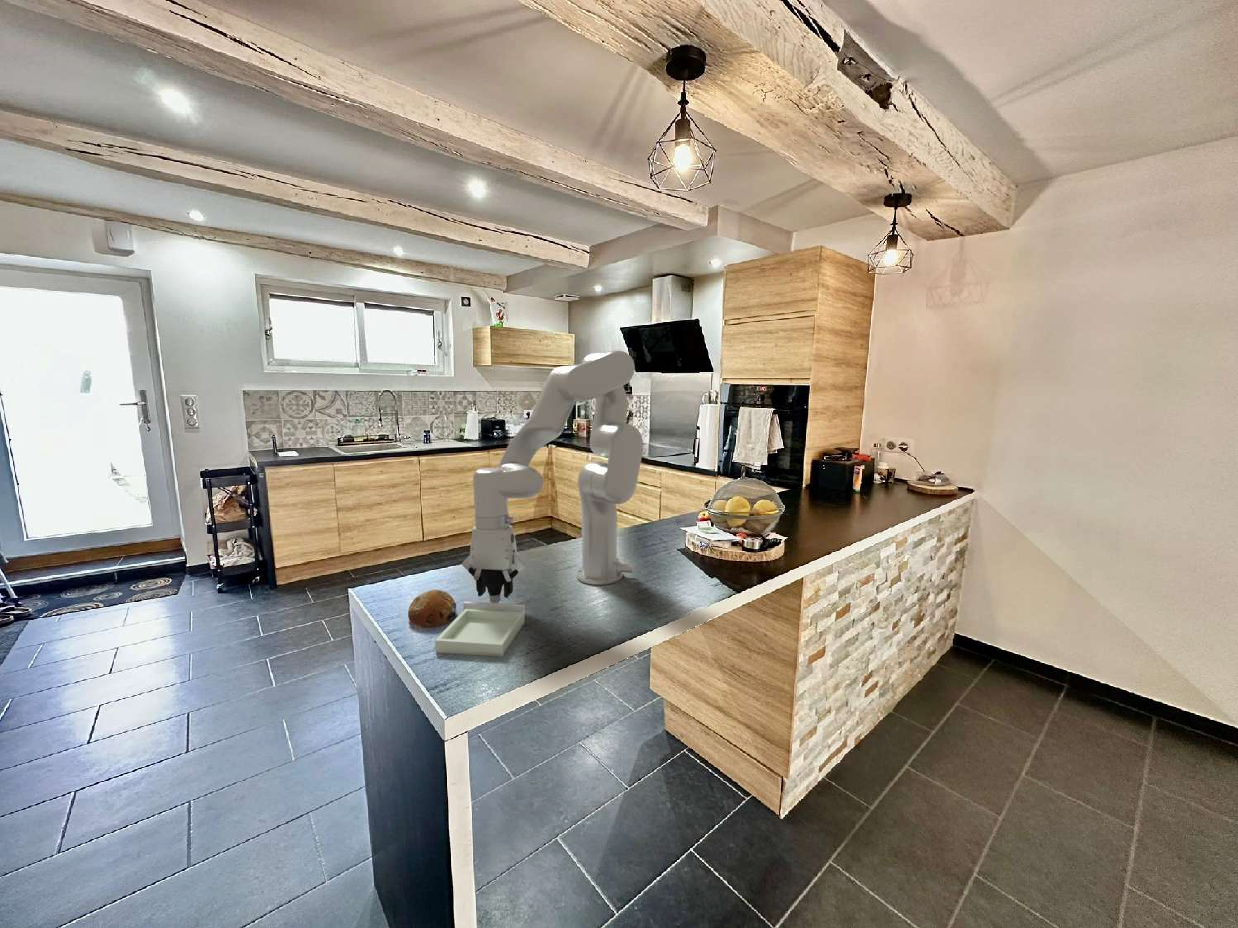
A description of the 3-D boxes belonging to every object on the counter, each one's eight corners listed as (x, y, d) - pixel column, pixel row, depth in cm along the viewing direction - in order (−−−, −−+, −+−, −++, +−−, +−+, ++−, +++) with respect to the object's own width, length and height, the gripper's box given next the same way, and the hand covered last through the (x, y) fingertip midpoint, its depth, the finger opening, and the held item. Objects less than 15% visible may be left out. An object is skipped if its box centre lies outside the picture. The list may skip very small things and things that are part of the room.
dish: (524, 622, 106) (524, 612, 106) (502, 656, 93) (502, 644, 93) (465, 619, 108) (465, 608, 108) (435, 652, 95) (434, 640, 94)
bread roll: (447, 620, 115) (437, 587, 116) (468, 614, 109) (458, 580, 110) (406, 636, 108) (397, 601, 109) (427, 631, 101) (417, 594, 102)
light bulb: (488, 611, 111) (486, 570, 110) (479, 602, 116) (477, 563, 115) (511, 605, 115) (510, 565, 113) (502, 596, 120) (500, 558, 118)
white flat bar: (524, 617, 109) (524, 604, 108) (523, 618, 108) (523, 606, 108) (465, 613, 111) (464, 601, 110) (463, 615, 110) (463, 602, 109)
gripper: (532, 518, 115) (534, 590, 118) (463, 515, 117) (467, 586, 120) (522, 527, 108) (525, 603, 110) (449, 524, 110) (453, 599, 112)
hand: (494, 594), depth 115 cm, fingers closed on light bulb, 5 cm apart
